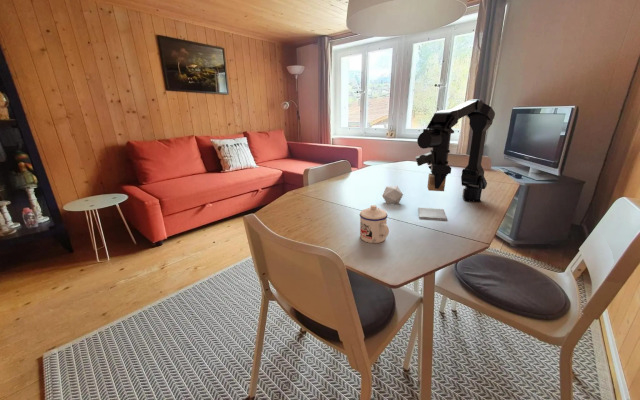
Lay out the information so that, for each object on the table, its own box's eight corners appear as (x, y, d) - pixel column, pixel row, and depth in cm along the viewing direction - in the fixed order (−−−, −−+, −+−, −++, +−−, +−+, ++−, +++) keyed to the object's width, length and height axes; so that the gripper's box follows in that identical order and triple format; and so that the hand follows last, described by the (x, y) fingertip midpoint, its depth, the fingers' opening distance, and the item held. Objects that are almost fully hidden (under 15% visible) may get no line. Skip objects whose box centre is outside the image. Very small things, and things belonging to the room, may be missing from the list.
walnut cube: (442, 187, 104) (443, 174, 102) (444, 191, 99) (445, 177, 97) (427, 186, 105) (428, 173, 104) (428, 190, 100) (430, 176, 99)
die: (398, 209, 114) (408, 190, 114) (381, 199, 114) (391, 180, 114) (393, 208, 122) (402, 191, 123) (377, 200, 122) (386, 182, 123)
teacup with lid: (354, 235, 91) (354, 204, 87) (375, 229, 94) (376, 199, 91) (375, 250, 81) (376, 216, 77) (398, 243, 84) (400, 210, 80)
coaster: (443, 210, 108) (443, 209, 108) (447, 220, 99) (447, 218, 99) (418, 209, 111) (418, 207, 111) (419, 218, 102) (419, 216, 102)
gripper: (416, 143, 108) (413, 179, 113) (419, 149, 91) (415, 191, 96) (446, 143, 104) (441, 181, 109) (454, 149, 88) (448, 193, 92)
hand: (435, 186), depth 102 cm, fingers closed on walnut cube, 5 cm apart
